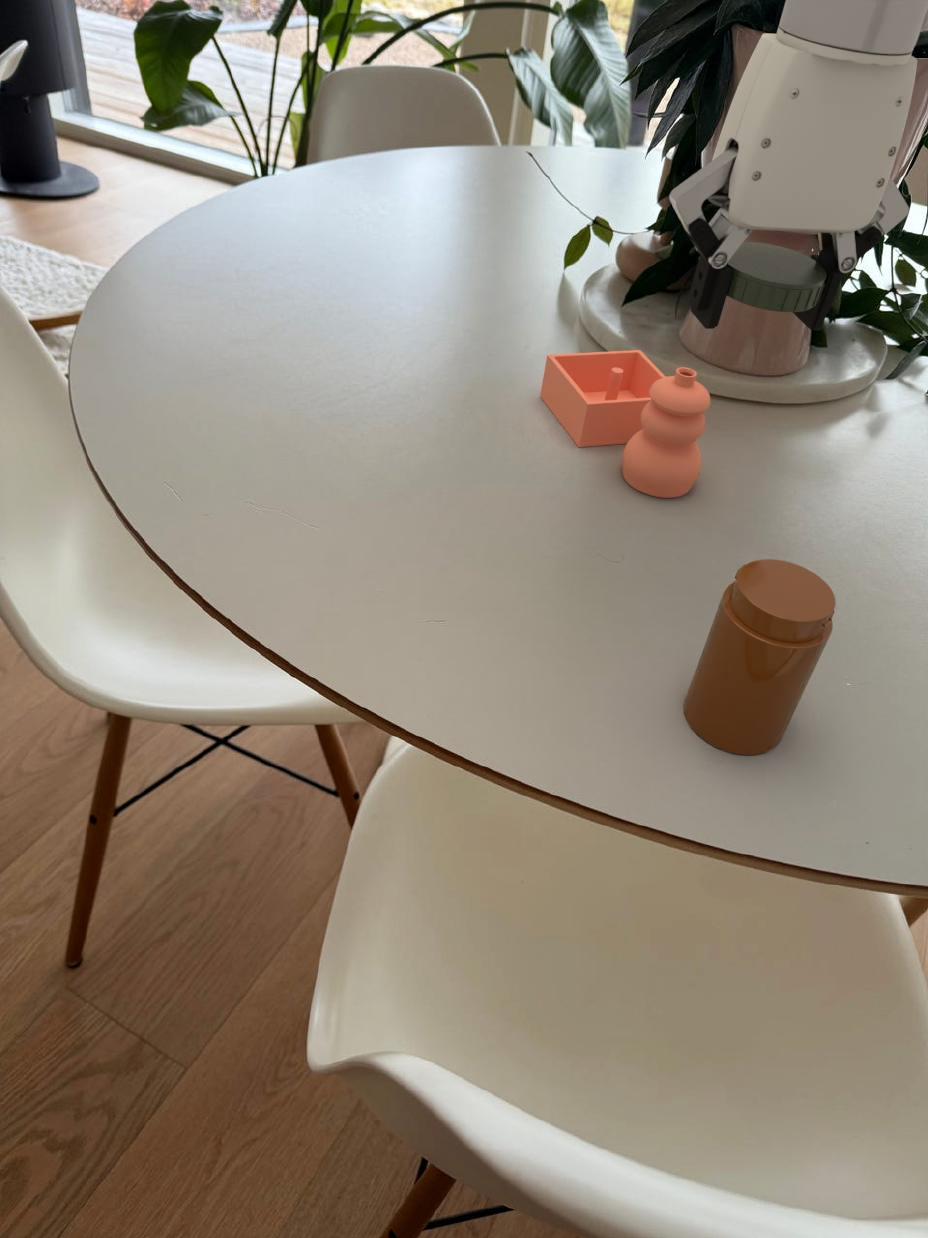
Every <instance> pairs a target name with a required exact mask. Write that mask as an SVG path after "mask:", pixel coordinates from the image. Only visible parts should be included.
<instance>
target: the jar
mask: <svg viewBox="0 0 928 1238" xmlns="http://www.w3.org/2000/svg"><path fill="white" fill-rule="evenodd" d="M734 579H735V580H734V581H733V582H731V583H730V584H728V586H727V587H726V588H725V589H724V591H723V594H722V596H721V599H720V601H719V605H718V606H717V610H716V613H715V615H714V618H713V621H712V624H711V627H710V629H709V632H708V636H707V637H706V640H705V643H704V645H703V649H702V652H701V653H700V657H699V659H698V663H697V665H696V668H695V671H694V673H693V676H692V680H691V682H690V685H689V688H688V690H687V693H686V696H685V698H684V701H683V713H684V716H685V717H684V718H685V719H686V722H687V723H688V725H689V726H690V728H691V730H693V731H694V733H695V734H696V735H697V736H698V737H700V738H701V739H702V740H703V741H704V742H706V743H707V744H710V745H711V746H713V747H714V748H717V749H718V750H721V751H724V752H727V753H731V754H733V755H740V756H756V755H762V754H765V753H768V752H770V751H772V750H774V749H775V748H776V747H777V746H778V745H779V744H780V743H781V742H782V739H783V738H784V735H785V733H786V731H787V728H788V727H789V724H790V722H791V720H792V718H793V716H794V714H795V711H796V710H797V707H798V705H799V703H800V701H801V699H802V697H803V695H804V692H805V690H806V688H807V686H808V684H809V682H810V679H811V677H812V675H813V673H814V671H815V669H816V667H817V664H818V662H819V660H820V657H821V656H822V654H823V652H824V650H825V648H826V646H827V643H828V642H829V639H830V637H831V634H832V633H833V628H834V627H833V626H834V624H833V617H834V615H835V609H836V597H835V594H834V591H833V590H832V588H831V587H830V585H829V584H828V583H827V582H826V581H825V580H824V579H823V578H822V577H821V576H819V575H818V574H817V573H815V572H813V571H811V570H810V569H808V568H806V567H804V566H802V565H799V564H797V563H794V562H791V561H786V560H782V559H773V558H764V559H756V560H753V561H750V562H747V563H746V564H743V565H742V566H741V567H740V568H738V569H737V571H736V573H735V575H734Z"/></svg>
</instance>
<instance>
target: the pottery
mask: <svg viewBox="0 0 928 1238" xmlns="http://www.w3.org/2000/svg"><path fill="white" fill-rule="evenodd" d="M697 375H698V373H697V372H696V370H694V369H693V368H689V367H685V366H682V367H681V366H680V367H677V368H676V370H675V374H674V375H668V376H666V375H665V374H664V372H662V371H661V370H660V369H659V368H658V367H657V366H656V365H655V363H653V362H652V361H651V360H650V359H649V358H648V356H646V355H645V353H644V352H643V351H642V350H641V349H633V350H630V349H629V350H613V351H612V350H611V351H594V352H592V351H591V352H574V353H572V352H571V353H556V354H554V353H553V354H547V355H546V360H545V366H544V372H543V376H542V382H541V389H540V393H539V398H541V400H542V401H543V402H544V404H545V405H546V407H547V408H548V409H549V411H550V412H551V413H552V414H553V416H554V417H555V418H556V420H557V421H558V422H559V424H560V425H561V426H562V428H563V429H564V430H565V432H566V433H567V434H568V435H569V437H570V438H571V439H572V441H573V442H574V443H575V444H576V446H577V448H587V447H599V446H610V445H611V446H612V445H623V444H625V446H624V450H623V452H622V458H621V459H622V477H623V479H624V480H625V482H626V483H627V484H628V485H629V486H630V487H632V488H633V489H635V490H636V491H639V492H641V493H642V494H646V495H648V496H652V497H656V498H664V499H665V498H666V499H670V498H671V499H673V498H679V497H682V496H684V495H687V493H689V492H690V491H691V489H692V487H693V486H694V484H695V482H696V481H697V480H698V477H699V476H700V474H701V471H702V463H703V460H702V459H703V458H702V454H701V451H700V447H699V445H698V444H697V441H698V440H699V439H700V438H701V437H702V435H703V434H704V432H705V429H706V417H705V414H704V412H705V411H706V410H708V409H709V407H710V406H711V395H710V393H709V391H708V390H707V388H706V387H705V386H704V385H703V384H701V383H700V382H699V381H697V380H696V379H697Z"/></svg>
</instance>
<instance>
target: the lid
mask: <svg viewBox="0 0 928 1238" xmlns="http://www.w3.org/2000/svg"><path fill="white" fill-rule="evenodd" d="M810 257H811V256H808V255H806V254H803V253H802V252H799V251H796V250H793V249H790V248H787V247H784V246H780V245H776V244H771V243H765V242H757V241H756V242H755V241H745V242H744V243H743V244H742V245H741V247H740V248H739V249H738V251H737V252H736V253H735V254H734V256H733V257H732V258H731V259H730V261H729V262H728V264H727V267H729V268H730V269H731V270H732V272H733V276H732V280H731V283H730V286H729V290H728V293H727V296H726V297H728V298H729V299H730V298H731V299H732V300H734V301H737V302H739V303H741V304H744V305H747V306H750V307H754V308H758V309H760V310H761V309H762V310H765V311H771V312H778V313H779V312H780V313H793V312H800V311H805V310H809V309H811V308H813V307H814V306H815V305H816V304H817V303H818V302H819V299H820V297H821V294H822V291H823V288H824V286H825V283H824V282H825V279H826V276H827V274H826V271H825V269H824V268H823V267H822V266H821V265H820V264H819V263H818V262H817V261H815V260H813V259H812V258H810Z"/></svg>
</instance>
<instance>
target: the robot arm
mask: <svg viewBox="0 0 928 1238" xmlns="http://www.w3.org/2000/svg"><path fill="white" fill-rule="evenodd" d="M925 31H926V32H928V0H785V2H784V6H783V9H782V13H781V17H780V20H779V24H778V27H777V30H776V33H768V32H767V33H765V32H764V33H762V34H761V36H760V38H759V39H758V41H757V44H756V46H755V48H754V50H753V52H752V54H751V56H750V59H749V60H748V63H747V65H746V67H745V69H744V71H743V74H742V76H741V78H740V80H739V83H738V85H737V88H736V90H735V93H734V96H733V98H732V100H731V103H730V106H729V109H728V111H727V114H726V116H725V120H724V122H723V126H722V128H721V132H720V134H719V138H718V140H717V144H716V146H715V149H714V152H713V156H712V159H711V161H710V162H708V163H706V165H704V166H703V167H701V168H700V169H698V170H697V171H696V172H695V173H693V174H691V175H690V176H689V177H688V178H687V179H685V180H683V181H682V182H681V183H679V184H678V185H677V186H676V187H674V188H673V189H672V190H671V191H670V193H669V196H668V198H669V201H670V204H671V205H672V208H673V210H674V211H675V214H676V215H677V217H678V220H679V221H680V222H681V225H682V228H683V230H684V232H685V233H686V234H687V236H688V238H689V239H690V241H691V243H692V244H693V246H694V248H695V250H696V251H697V252H698V253H699V259H698V262H697V265H696V269H695V272H694V277H693V280H692V284H691V288H690V292H689V294H688V295H689V296H688V305H689V308H690V309H689V310H690V312H691V313H692V315H693V316H694V317H695V318H696V319H697V320H698V322H699V323H700V324H701V325H702V326H703V328H704V329H707V330H709V329H710V330H714V329H715V328H716V327H718V326H719V323H720V319H721V316H722V314H723V309H724V307H725V304H726V300H727V297H728V296H727V293H728V290H729V286H730V283H731V280H732V276H733V272H732V270H731V269H730V268H729V267H727V264H728V262H729V261H730V259H731V258H732V257H733V256H734V254H735V253H736V252H737V251H738V249H739V248H740V247H741V245H742V244H743V243H744V242H746V240H747V239H748V238H749V237H750V235H751V234H752V233H753V232H754V231H755V230H756V231H771V232H772V231H773V232H793V233H795V232H798V233H817V240H818V241H817V242H818V250H819V253H818V254H811V255H810V256H809V257H810V258H812V259H813V260H815V261H817V262H818V263H819V264H820V265H821V266H822V267H823V268H824V269H825V271H826V274H827V276H826V279H825V282H824V283H825V286H824V288H823V291H822V294H821V297H820V299H819V302H818V303H817V304H816V305H815V306H814V307H813V308H811V309H809V310H805V311H800V312H792V313H793V315H794V316H795V317H796V318H798V319H799V320H800V321H801V323H803V325H805V326H806V328H808V329H809V330H810V331H821V329H822V327H823V324H824V322H825V319H826V317H827V314H828V312H829V311H830V310H831V308H832V305H833V303H834V300H835V297H836V294H837V291H838V289H839V286H840V284H841V281H842V279H843V275H844V274H848V273H850V272H852V271H853V270H854V269H855V268H856V266H857V263H858V260H859V259H860V258H861V257H863V256H864V255H865V254H867V253H868V252H869V251H871V250H872V249H873V248H874V247H876V246H877V245H878V244H879V243H880V242H881V240H882V238H883V236H886V235H887V234H888V233H889V232H890V231H892V230H893V229H894V228H895V227H896V226H897V225H899V224H900V223H901V222H902V221H903V220H904V219H906V217H908V215H909V213H910V207H909V205H908V204H907V202H906V200H905V198H904V196H903V195H902V193H901V192H900V189H899V188H898V186H897V184H896V183H895V181H894V179H893V178H892V176H891V174H892V171H893V169H894V166H895V163H896V159H897V156H898V152H899V149H900V145H901V142H902V140H903V139H902V138H903V135H904V131H905V127H906V124H907V120H908V116H909V112H910V106H911V103H912V98H913V97H912V96H913V93H914V87H915V81H916V76H917V75H916V74H917V67H918V59H917V58H916V57H915V56H913V55H912V54H913V51H914V48H915V47H916V46H917V43H918V41H919V38H920V35H921V33H923V32H925ZM706 200H707V201H708V202H710V203H711V204H713V205H715V206H718V207H720V208H719V209H718V210H717V211H716V213H715V214H714V216H713V217H712V218H711V219H710V221H709V222H707V219H706V218H705V215H704V212H703V210H702V207H703V204H704V202H705V201H706Z"/></svg>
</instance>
